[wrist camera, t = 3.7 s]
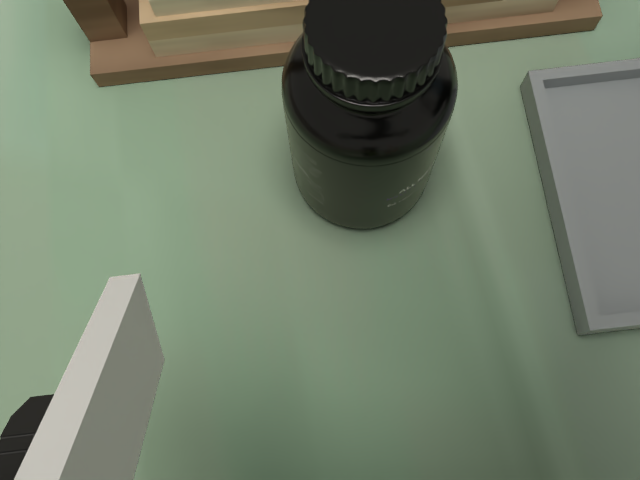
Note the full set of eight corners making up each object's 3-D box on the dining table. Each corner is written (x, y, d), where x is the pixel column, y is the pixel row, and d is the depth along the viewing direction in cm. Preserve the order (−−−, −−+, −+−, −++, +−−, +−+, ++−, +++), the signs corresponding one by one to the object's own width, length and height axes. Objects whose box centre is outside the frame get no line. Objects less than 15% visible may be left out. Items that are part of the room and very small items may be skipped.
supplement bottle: (427, 236, 30) (479, 121, 19) (289, 228, 31) (258, 110, 19) (429, 111, 32) (478, -62, 21) (300, 105, 33) (278, -69, 21)
